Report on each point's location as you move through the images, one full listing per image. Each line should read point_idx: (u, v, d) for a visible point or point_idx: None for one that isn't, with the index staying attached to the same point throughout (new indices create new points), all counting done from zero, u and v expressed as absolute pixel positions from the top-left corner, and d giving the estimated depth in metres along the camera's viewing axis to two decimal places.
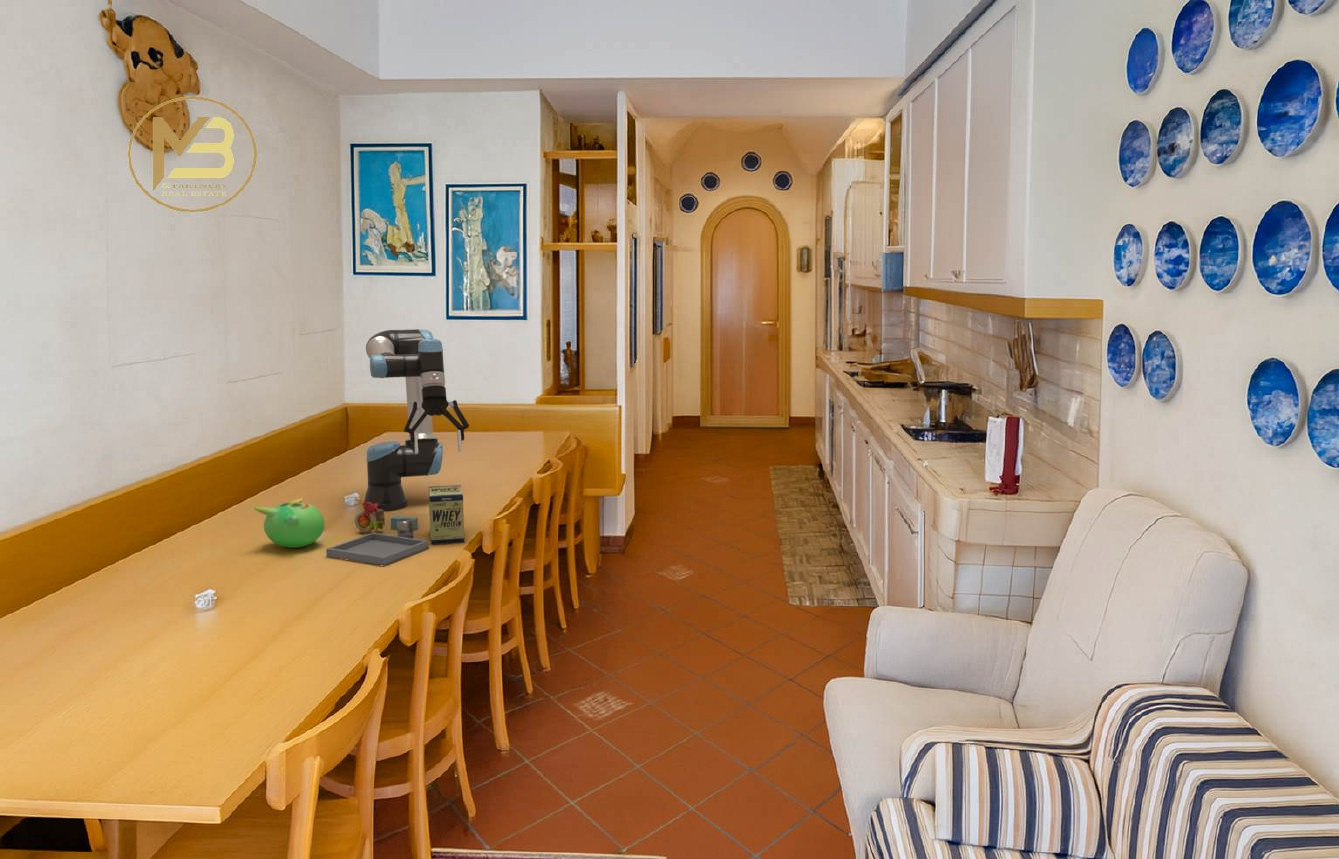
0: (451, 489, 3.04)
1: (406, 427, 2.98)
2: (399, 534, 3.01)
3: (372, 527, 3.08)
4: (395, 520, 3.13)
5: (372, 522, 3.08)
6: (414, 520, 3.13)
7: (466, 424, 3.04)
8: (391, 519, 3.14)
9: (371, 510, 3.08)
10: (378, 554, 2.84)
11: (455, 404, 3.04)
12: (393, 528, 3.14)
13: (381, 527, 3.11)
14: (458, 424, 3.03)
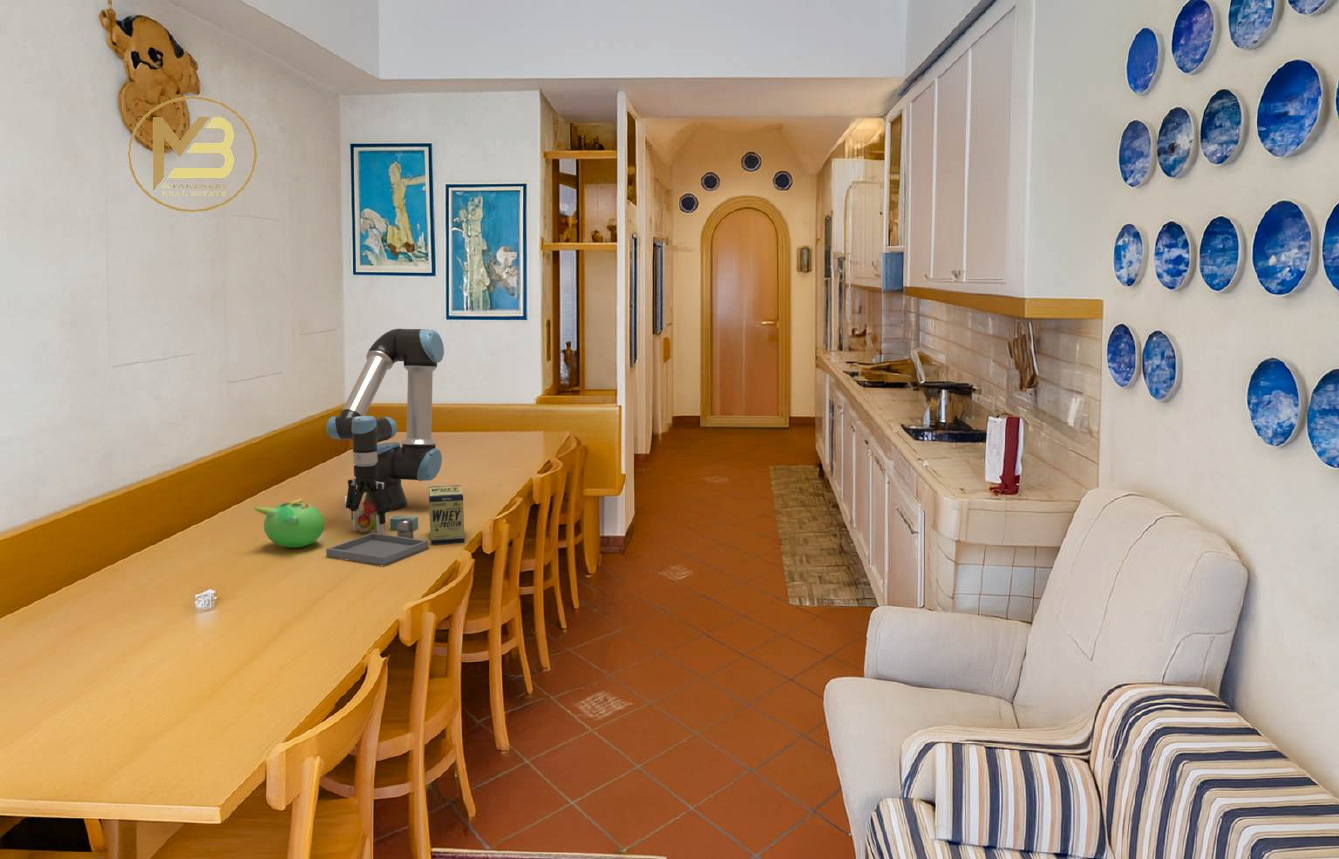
0: (451, 489, 3.04)
1: (346, 505, 3.10)
2: (399, 534, 3.01)
3: (372, 527, 3.08)
4: (396, 521, 3.12)
5: (372, 522, 3.08)
6: (416, 519, 3.14)
7: (383, 510, 3.04)
8: (391, 520, 3.12)
9: (371, 510, 3.08)
10: (378, 554, 2.84)
11: (379, 487, 3.03)
12: (393, 529, 3.13)
13: None
14: (377, 508, 3.05)
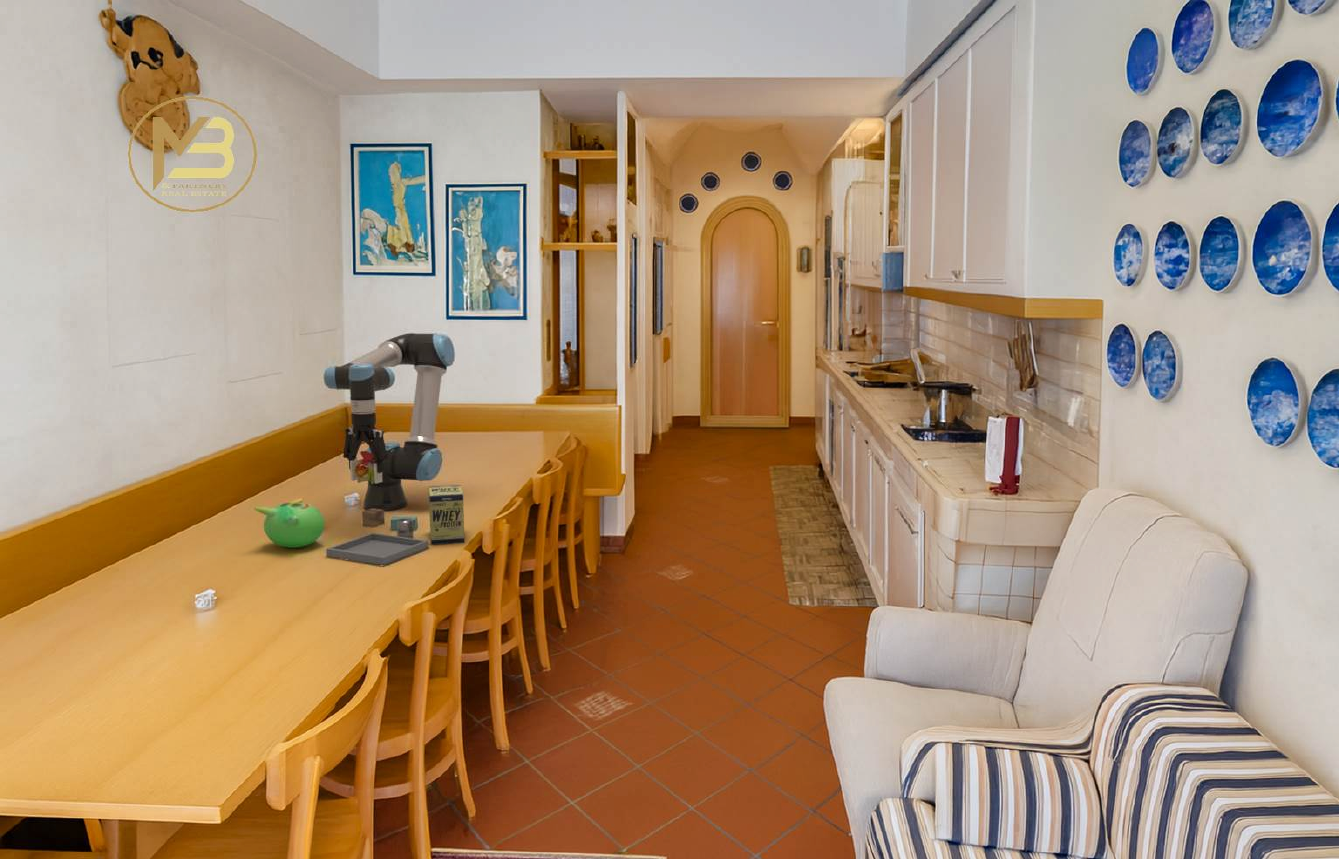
0: (451, 489, 3.04)
1: (344, 454, 3.07)
2: (399, 534, 3.01)
3: (370, 476, 3.05)
4: (396, 521, 3.12)
5: (370, 471, 3.05)
6: (416, 518, 3.15)
7: (381, 458, 3.01)
8: (391, 520, 3.12)
9: (369, 459, 3.05)
10: (378, 554, 2.84)
11: (376, 435, 3.00)
12: (394, 529, 3.12)
13: None
14: (375, 457, 3.02)
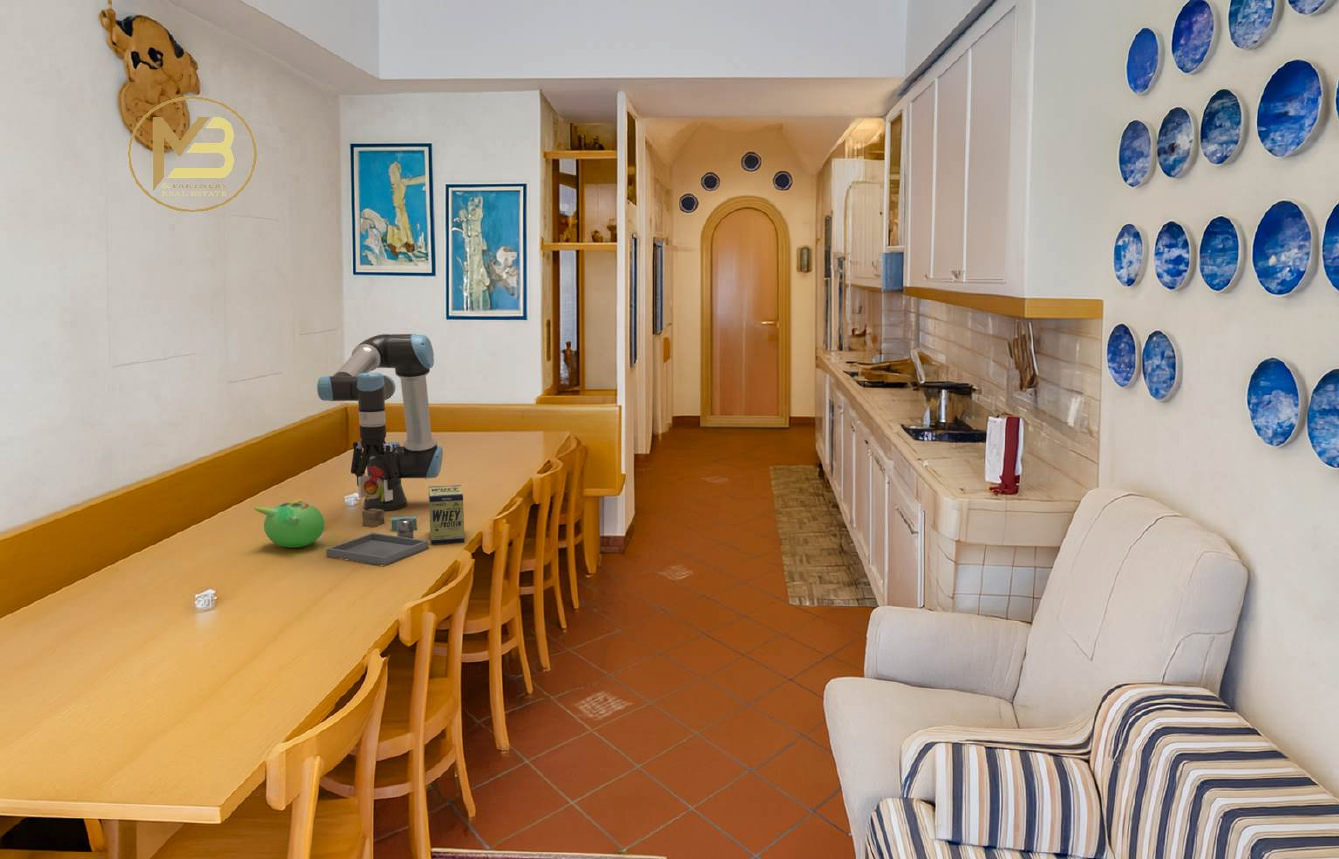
0: (451, 489, 3.04)
1: (352, 470, 2.86)
2: (399, 534, 3.01)
3: (379, 493, 2.84)
4: None
5: (379, 488, 2.83)
6: (416, 518, 3.15)
7: (391, 474, 2.79)
8: (392, 521, 3.11)
9: (378, 475, 2.84)
10: (378, 554, 2.84)
11: (387, 450, 2.79)
12: (395, 530, 3.12)
13: None
14: (385, 473, 2.80)
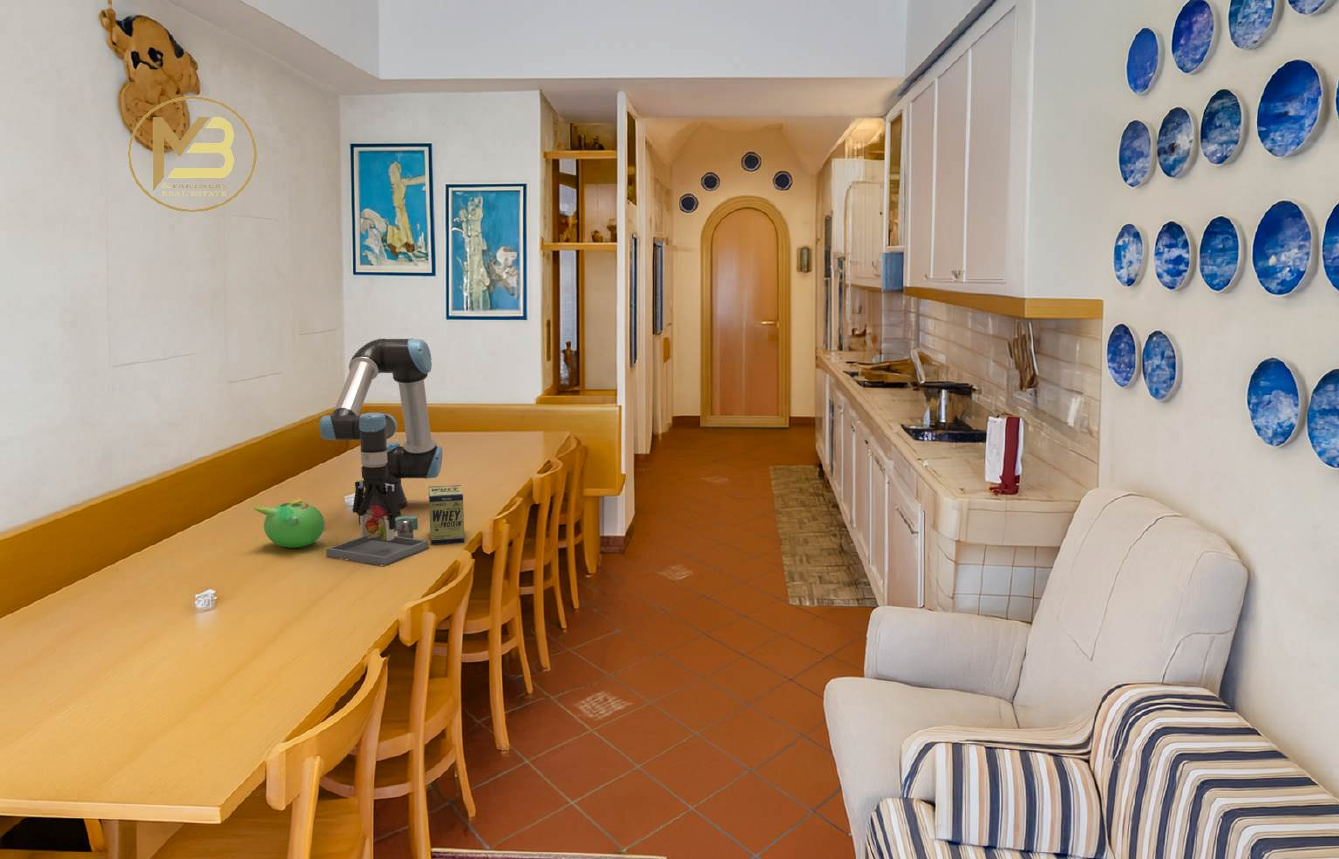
0: (451, 489, 3.04)
1: (354, 509, 2.88)
2: (399, 534, 3.01)
3: (381, 532, 2.85)
4: None
5: (381, 527, 2.85)
6: None
7: (393, 514, 2.81)
8: None
9: (380, 514, 2.85)
10: (378, 554, 2.84)
11: (388, 490, 2.81)
12: (396, 530, 3.11)
13: None
14: (387, 512, 2.82)
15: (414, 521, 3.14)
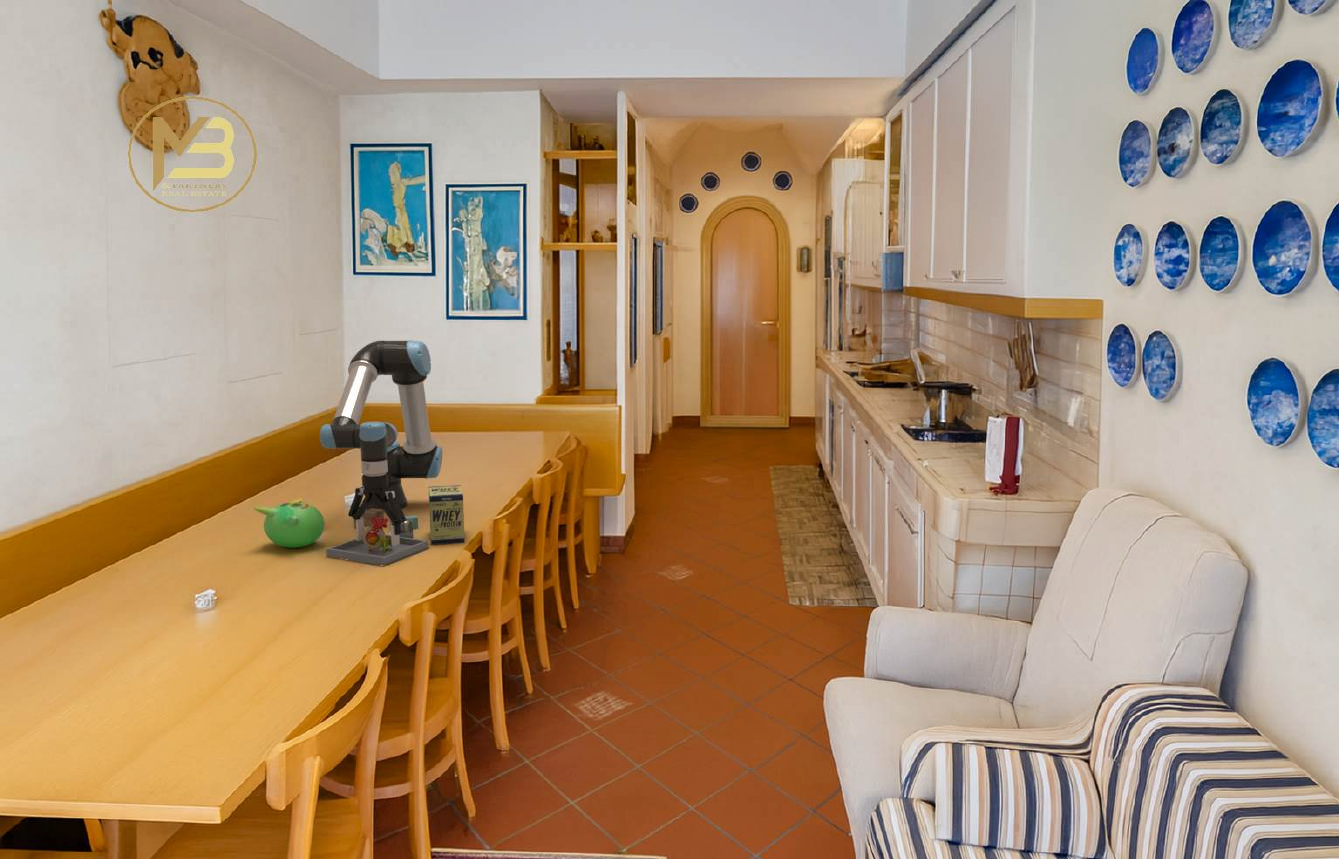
0: (451, 489, 3.04)
1: (349, 513, 2.88)
2: (399, 534, 3.01)
3: (381, 544, 2.86)
4: None
5: (381, 539, 2.86)
6: None
7: (398, 520, 2.81)
8: None
9: (380, 526, 2.86)
10: (378, 554, 2.84)
11: (389, 497, 2.81)
12: None
13: (391, 544, 2.89)
14: (391, 518, 2.82)
15: (415, 520, 3.14)
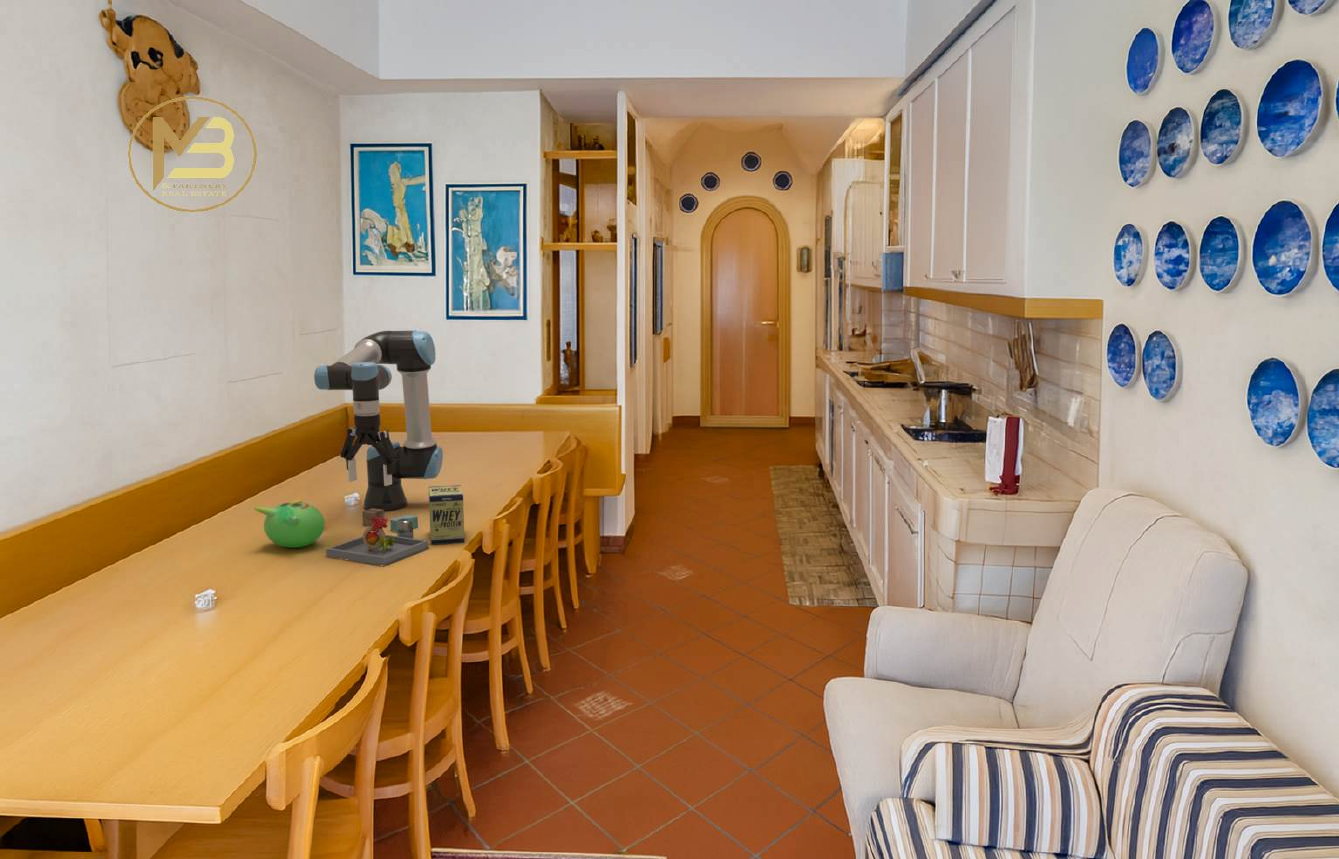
0: (451, 489, 3.04)
1: (341, 454, 2.89)
2: (399, 534, 3.01)
3: (381, 544, 2.86)
4: None
5: (381, 539, 2.86)
6: None
7: (390, 459, 2.82)
8: None
9: (380, 526, 2.86)
10: (378, 554, 2.84)
11: (381, 436, 2.82)
12: None
13: (391, 544, 2.89)
14: (384, 458, 2.83)
15: (415, 520, 3.15)
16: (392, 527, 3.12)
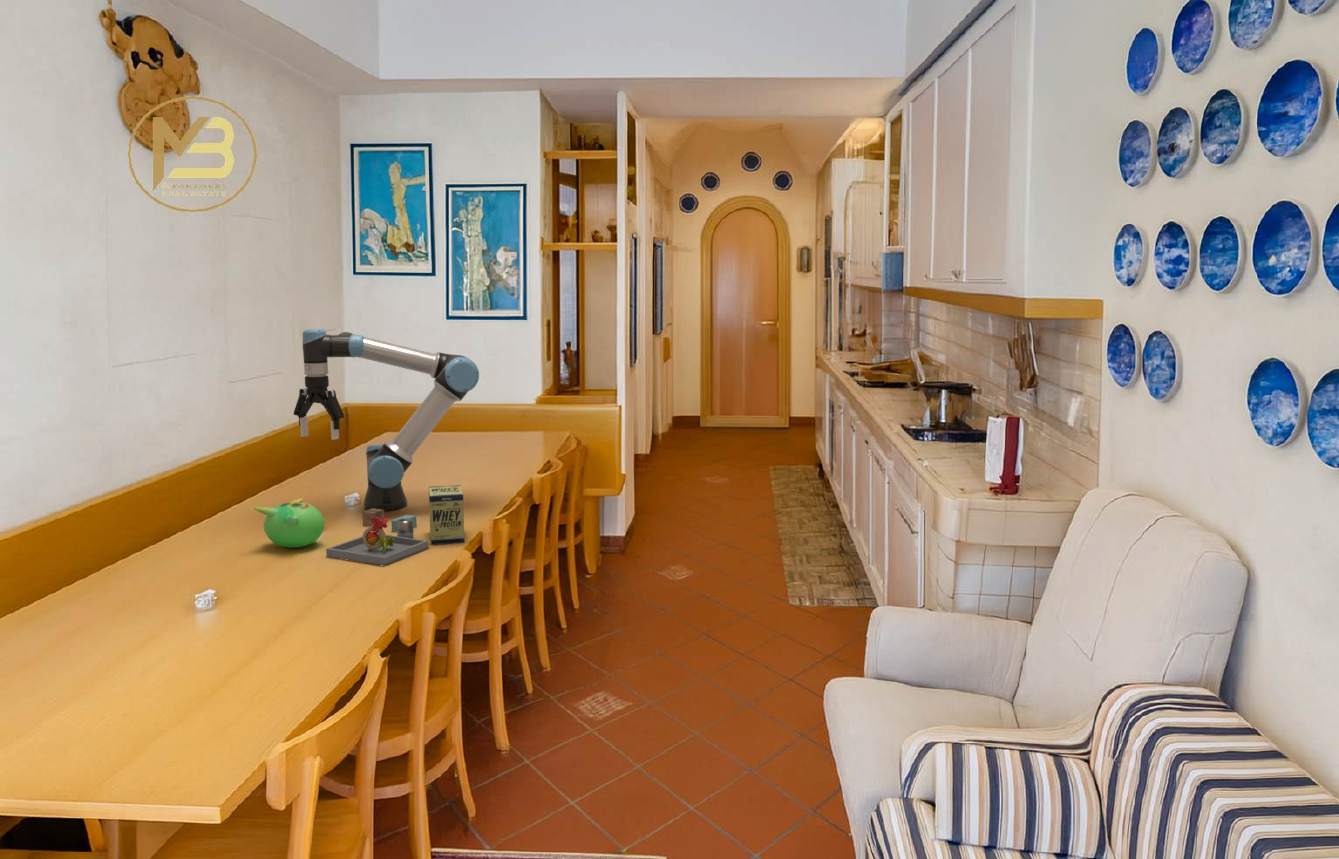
0: (451, 489, 3.04)
1: (294, 412, 3.23)
2: (399, 534, 3.01)
3: (381, 544, 2.86)
4: None
5: (381, 539, 2.86)
6: None
7: (336, 415, 3.15)
8: None
9: (380, 526, 2.86)
10: (378, 554, 2.84)
11: (329, 395, 3.16)
12: None
13: (391, 544, 2.89)
14: (331, 414, 3.17)
15: (414, 519, 3.16)
16: (394, 528, 3.11)
